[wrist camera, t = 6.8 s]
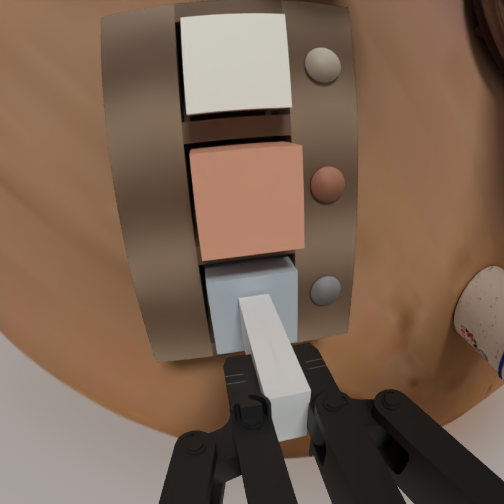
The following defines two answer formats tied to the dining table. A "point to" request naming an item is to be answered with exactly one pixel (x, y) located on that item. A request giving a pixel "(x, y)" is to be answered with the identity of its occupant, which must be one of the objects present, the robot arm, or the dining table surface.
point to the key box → (223, 131)
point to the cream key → (235, 63)
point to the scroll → (491, 27)
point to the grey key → (250, 284)
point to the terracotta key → (248, 197)
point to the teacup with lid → (484, 316)
